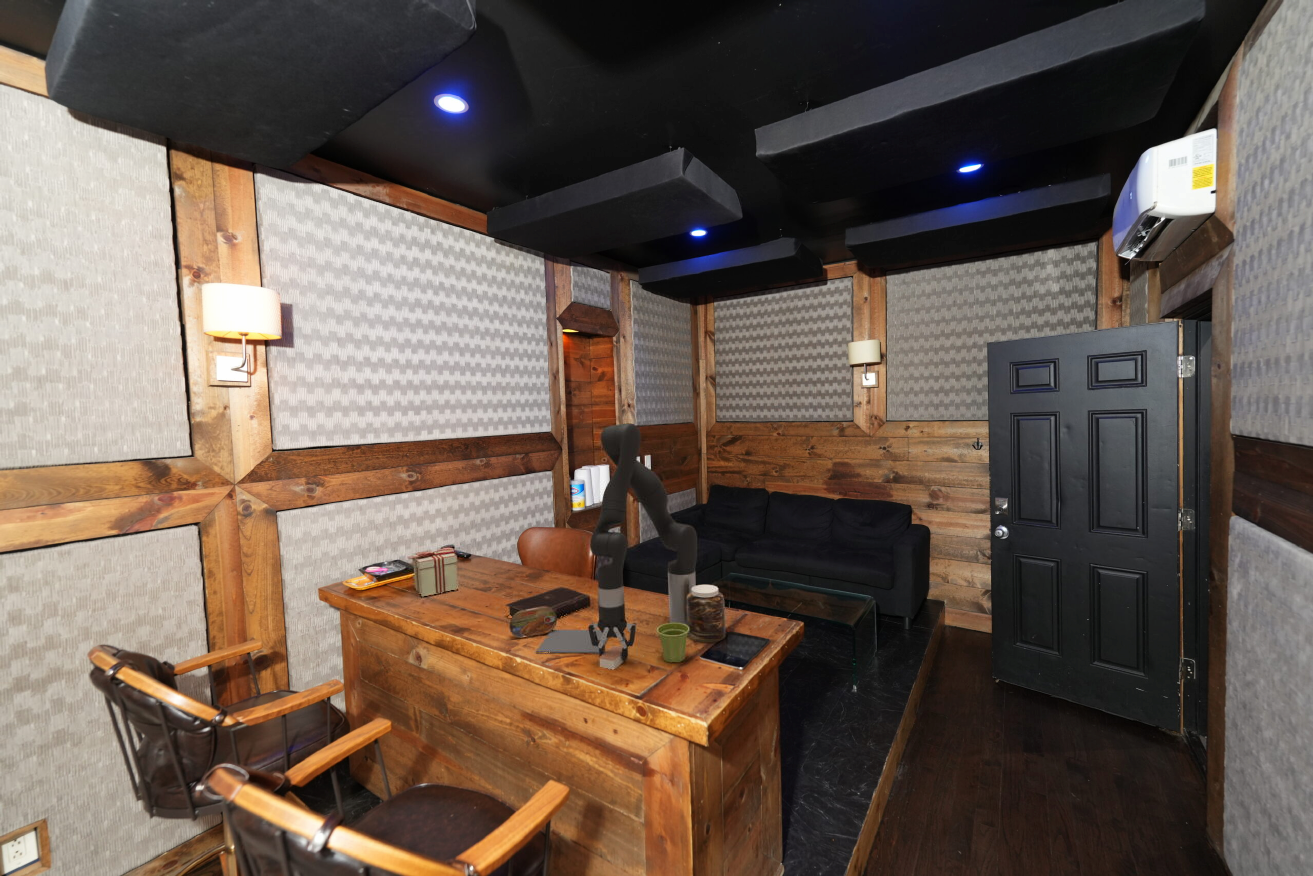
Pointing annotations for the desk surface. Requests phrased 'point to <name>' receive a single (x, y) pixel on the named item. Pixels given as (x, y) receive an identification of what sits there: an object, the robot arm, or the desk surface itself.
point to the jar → (705, 614)
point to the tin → (533, 622)
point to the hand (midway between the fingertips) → (613, 659)
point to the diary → (553, 601)
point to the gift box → (435, 571)
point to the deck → (612, 658)
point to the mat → (570, 642)
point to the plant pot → (673, 641)
